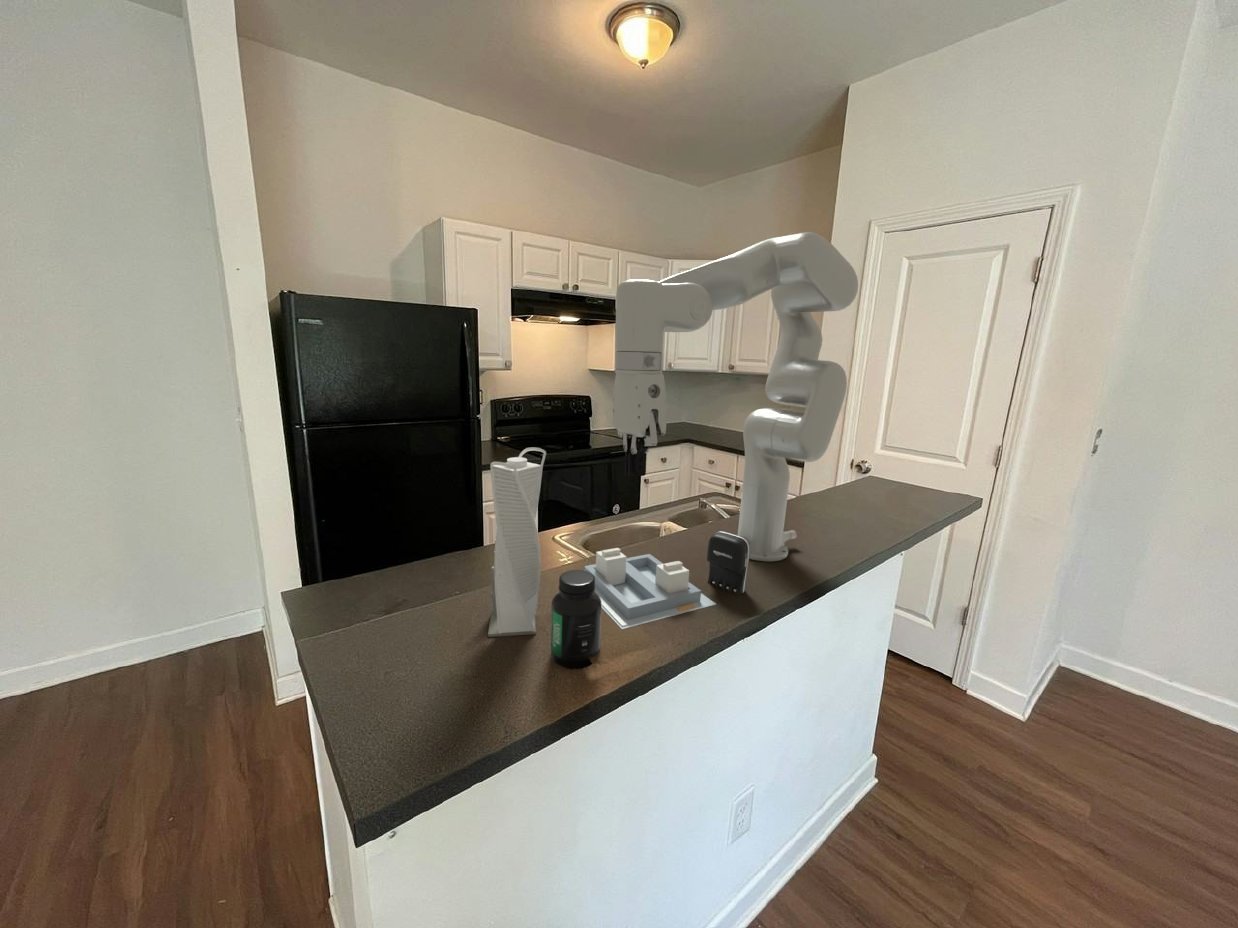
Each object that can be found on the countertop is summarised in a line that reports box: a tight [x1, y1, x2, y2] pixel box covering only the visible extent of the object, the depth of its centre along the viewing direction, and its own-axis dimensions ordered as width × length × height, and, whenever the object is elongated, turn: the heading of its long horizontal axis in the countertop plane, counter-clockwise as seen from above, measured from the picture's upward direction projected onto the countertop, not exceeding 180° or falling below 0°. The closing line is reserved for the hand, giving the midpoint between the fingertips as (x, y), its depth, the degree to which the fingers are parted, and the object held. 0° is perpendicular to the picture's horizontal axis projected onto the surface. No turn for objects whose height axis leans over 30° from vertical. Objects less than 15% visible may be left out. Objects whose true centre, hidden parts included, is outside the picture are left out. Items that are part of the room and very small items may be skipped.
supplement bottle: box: [550, 569, 602, 670], centre depth 67 cm, size 7×7×12 cm
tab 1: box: [595, 547, 627, 585], centre depth 87 cm, size 4×4×6 cm
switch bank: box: [583, 553, 717, 630], centre depth 85 cm, size 18×20×4 cm
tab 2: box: [655, 560, 690, 594], centre depth 82 cm, size 4×4×6 cm
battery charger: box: [706, 531, 750, 595], centre depth 86 cm, size 7×4×11 cm, turn 50°
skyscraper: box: [487, 446, 547, 638], centre depth 72 cm, size 8×8×28 cm
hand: (635, 475), depth 81 cm, fingers closed
